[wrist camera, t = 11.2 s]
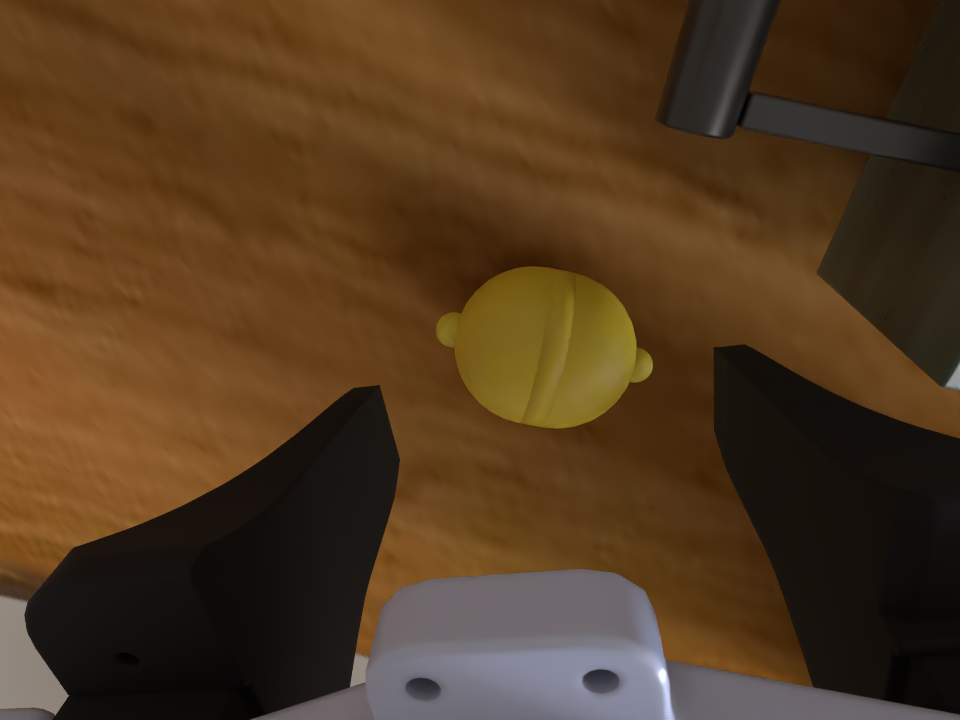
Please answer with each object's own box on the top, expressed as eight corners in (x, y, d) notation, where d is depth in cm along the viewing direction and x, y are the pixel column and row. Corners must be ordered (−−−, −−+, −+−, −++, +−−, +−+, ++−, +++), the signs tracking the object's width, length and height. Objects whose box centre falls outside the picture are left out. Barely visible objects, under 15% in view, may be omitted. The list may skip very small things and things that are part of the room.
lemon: (661, 268, 17) (694, 332, 14) (620, 393, 19) (640, 477, 16) (457, 228, 17) (437, 283, 14) (435, 357, 19) (413, 435, 16)
